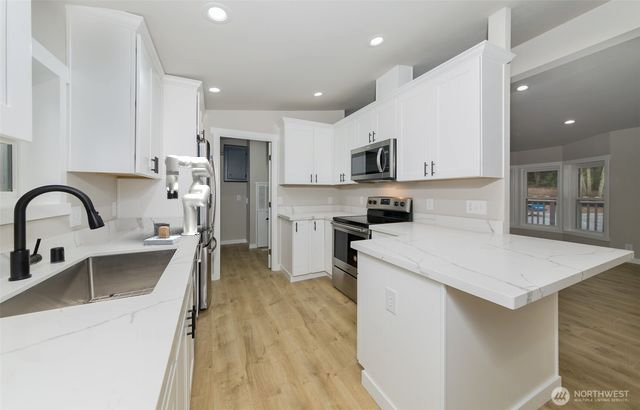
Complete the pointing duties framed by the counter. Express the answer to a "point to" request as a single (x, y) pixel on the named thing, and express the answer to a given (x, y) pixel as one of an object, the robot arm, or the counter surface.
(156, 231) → the small box
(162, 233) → the peg
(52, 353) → the counter surface
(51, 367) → the counter surface
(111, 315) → the counter surface
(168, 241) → the socket
